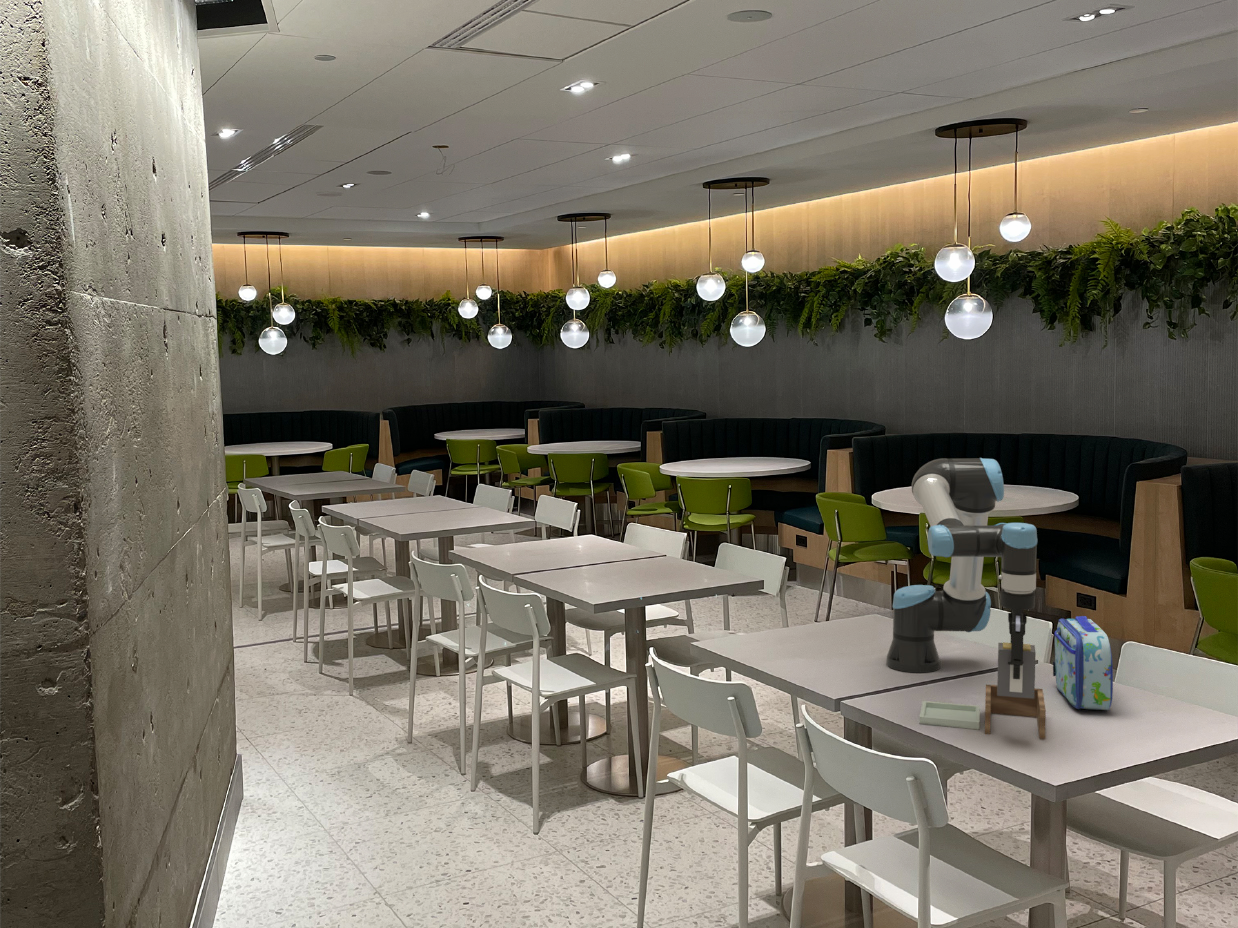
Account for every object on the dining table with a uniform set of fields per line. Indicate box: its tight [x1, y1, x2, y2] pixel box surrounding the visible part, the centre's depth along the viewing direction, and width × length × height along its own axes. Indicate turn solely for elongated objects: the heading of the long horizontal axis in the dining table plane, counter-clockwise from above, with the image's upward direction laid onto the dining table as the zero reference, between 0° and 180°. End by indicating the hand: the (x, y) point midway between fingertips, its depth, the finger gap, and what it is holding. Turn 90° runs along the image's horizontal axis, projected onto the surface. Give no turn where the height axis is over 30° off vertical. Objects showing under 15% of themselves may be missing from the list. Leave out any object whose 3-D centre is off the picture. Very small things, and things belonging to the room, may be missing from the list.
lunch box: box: [1052, 615, 1114, 711], centre depth 278 cm, size 26×11×21 cm, turn 168°
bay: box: [984, 684, 1047, 740], centre depth 260 cm, size 17×13×7 cm
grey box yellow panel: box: [996, 642, 1037, 699], centre depth 248 cm, size 6×8×11 cm
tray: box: [918, 700, 981, 730], centre depth 266 cm, size 13×14×2 cm
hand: (1015, 686), depth 249 cm, fingers closed on grey box yellow panel, 6 cm apart
